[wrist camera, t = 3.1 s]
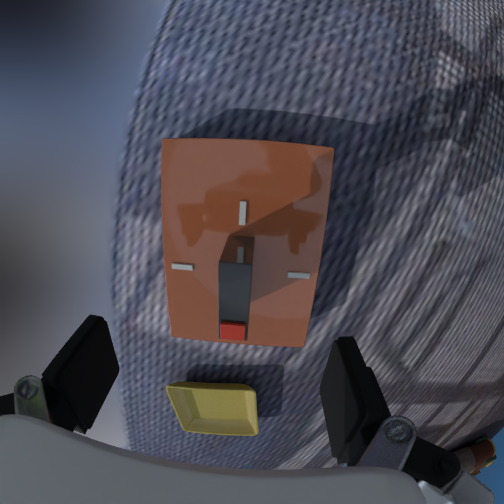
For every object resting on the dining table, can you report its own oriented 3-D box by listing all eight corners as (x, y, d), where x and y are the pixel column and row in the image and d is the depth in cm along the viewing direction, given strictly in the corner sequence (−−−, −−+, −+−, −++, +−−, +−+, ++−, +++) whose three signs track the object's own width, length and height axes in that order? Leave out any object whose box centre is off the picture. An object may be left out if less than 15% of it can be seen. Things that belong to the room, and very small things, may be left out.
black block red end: (228, 235, 17) (217, 263, 13) (255, 236, 17) (252, 266, 13) (226, 301, 19) (217, 341, 15) (250, 303, 19) (247, 344, 15)
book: (363, 498, 42) (368, 529, 33) (399, 463, 35) (410, 504, 25) (448, 472, 42) (457, 498, 32) (490, 430, 34) (505, 459, 25)
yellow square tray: (259, 422, 28) (258, 436, 26) (186, 418, 29) (183, 432, 27) (256, 374, 25) (256, 390, 23) (169, 370, 25) (164, 385, 23)
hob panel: (176, 139, 18) (160, 138, 15) (324, 147, 18) (335, 147, 15) (180, 315, 23) (170, 338, 20) (300, 324, 23) (304, 349, 20)
